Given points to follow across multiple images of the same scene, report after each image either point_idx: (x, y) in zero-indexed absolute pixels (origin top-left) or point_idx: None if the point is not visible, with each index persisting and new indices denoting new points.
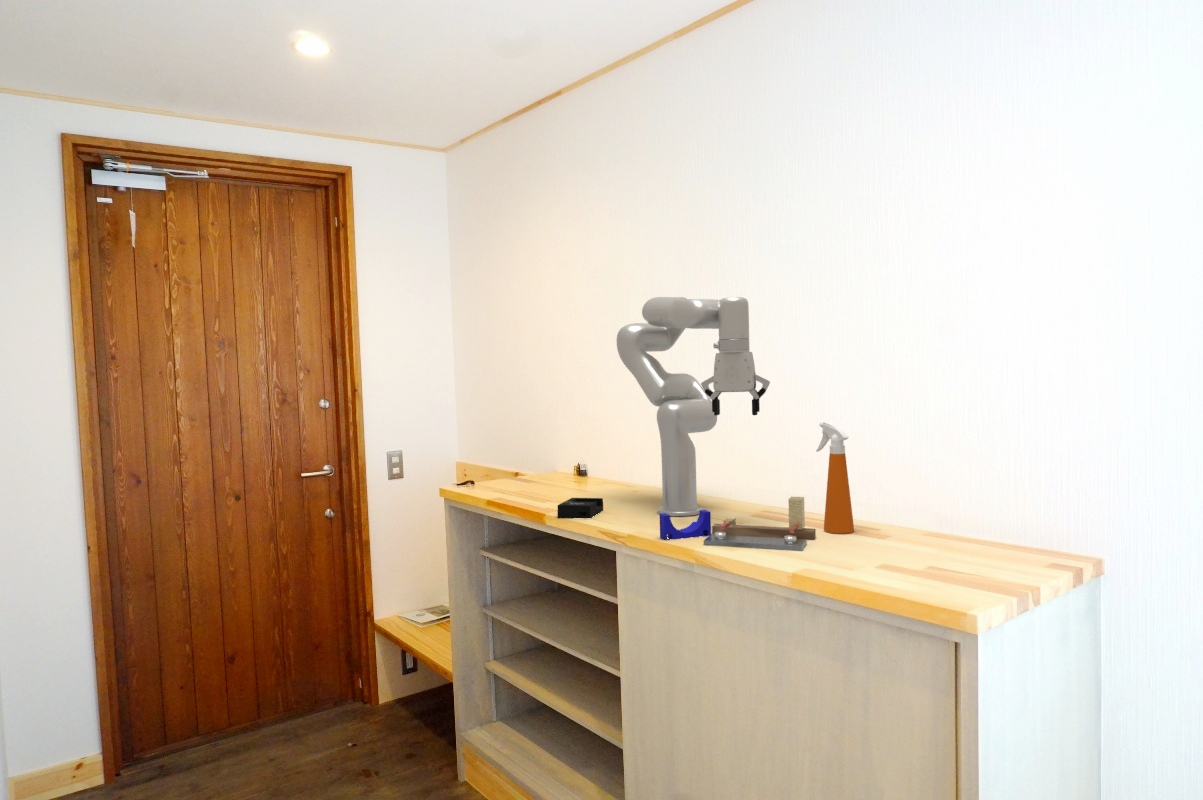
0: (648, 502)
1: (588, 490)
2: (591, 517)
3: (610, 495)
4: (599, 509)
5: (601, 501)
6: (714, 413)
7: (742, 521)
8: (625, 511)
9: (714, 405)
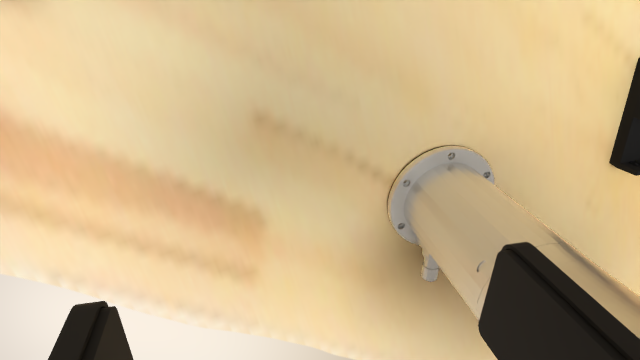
0: None
1: None
2: (637, 68)
3: None
4: (624, 136)
5: (632, 167)
6: (533, 248)
7: (264, 143)
8: (560, 169)
9: (602, 311)
